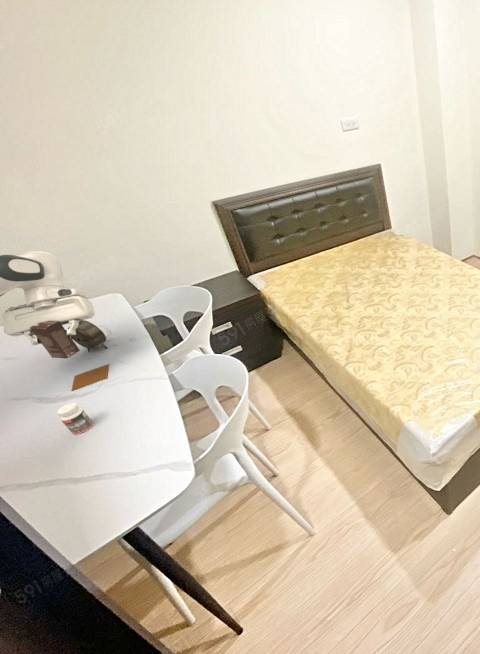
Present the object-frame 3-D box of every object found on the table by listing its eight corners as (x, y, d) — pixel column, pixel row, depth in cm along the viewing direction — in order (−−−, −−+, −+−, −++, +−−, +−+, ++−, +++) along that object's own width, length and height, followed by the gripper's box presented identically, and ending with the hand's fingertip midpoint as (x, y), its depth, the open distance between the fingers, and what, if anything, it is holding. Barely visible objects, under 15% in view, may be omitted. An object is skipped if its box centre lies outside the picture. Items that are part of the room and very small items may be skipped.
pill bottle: (72, 437, 114) (54, 417, 110) (72, 427, 117) (55, 408, 113) (93, 428, 117) (77, 408, 113) (93, 418, 120) (77, 399, 116)
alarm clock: (113, 346, 151) (90, 311, 143) (98, 355, 146) (73, 319, 138) (92, 342, 153) (68, 308, 145) (77, 351, 149) (51, 316, 141)
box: (81, 350, 130) (59, 320, 124) (67, 359, 126) (43, 329, 120) (66, 348, 131) (44, 319, 125) (51, 358, 127) (27, 328, 121)
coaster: (72, 390, 131) (71, 390, 131) (75, 376, 137) (74, 375, 137) (107, 378, 135) (106, 377, 135) (108, 364, 142) (108, 363, 142)
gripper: (-7, 307, 120) (0, 349, 118) (81, 287, 129) (89, 327, 126) (10, 311, 126) (17, 352, 123) (93, 293, 134) (101, 330, 132)
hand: (54, 339), depth 125 cm, fingers closed on box, 7 cm apart
